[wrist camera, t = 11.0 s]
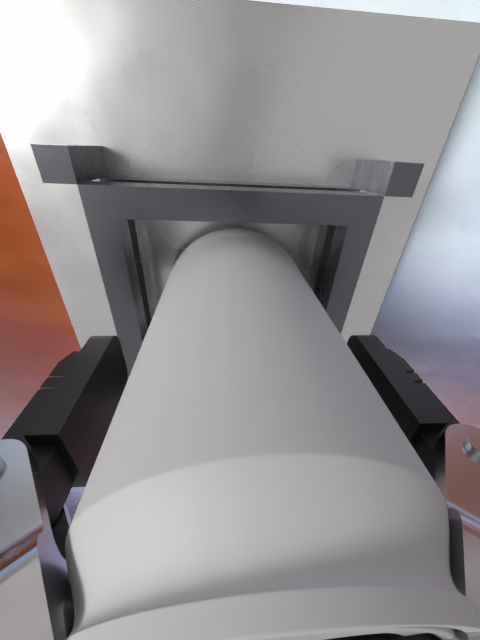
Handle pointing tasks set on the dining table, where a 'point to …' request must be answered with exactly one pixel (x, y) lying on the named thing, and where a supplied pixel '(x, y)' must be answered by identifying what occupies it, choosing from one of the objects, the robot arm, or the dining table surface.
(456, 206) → the dining table surface
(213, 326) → the beverage can
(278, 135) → the collar stand
